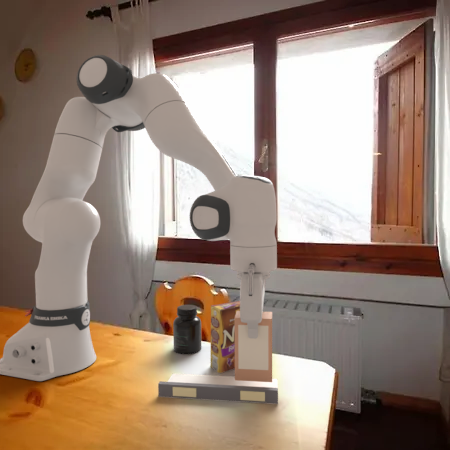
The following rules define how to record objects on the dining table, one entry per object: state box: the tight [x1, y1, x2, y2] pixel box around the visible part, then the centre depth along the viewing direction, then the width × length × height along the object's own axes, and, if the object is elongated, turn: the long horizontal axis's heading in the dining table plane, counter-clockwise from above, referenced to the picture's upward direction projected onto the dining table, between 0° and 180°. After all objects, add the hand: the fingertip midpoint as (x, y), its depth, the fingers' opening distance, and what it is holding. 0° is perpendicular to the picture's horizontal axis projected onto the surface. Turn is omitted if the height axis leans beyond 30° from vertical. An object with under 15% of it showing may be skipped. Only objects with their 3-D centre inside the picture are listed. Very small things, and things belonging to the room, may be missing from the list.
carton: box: [234, 311, 273, 382], centre depth 71 cm, size 5×7×12 cm
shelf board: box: [157, 372, 279, 405], centre depth 71 cm, size 22×10×4 cm, turn 82°
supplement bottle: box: [172, 304, 202, 355], centre depth 91 cm, size 7×7×12 cm
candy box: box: [210, 300, 240, 374], centre depth 81 cm, size 9×4×15 cm, turn 123°
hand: (254, 331), depth 70 cm, fingers closed on carton, 5 cm apart
